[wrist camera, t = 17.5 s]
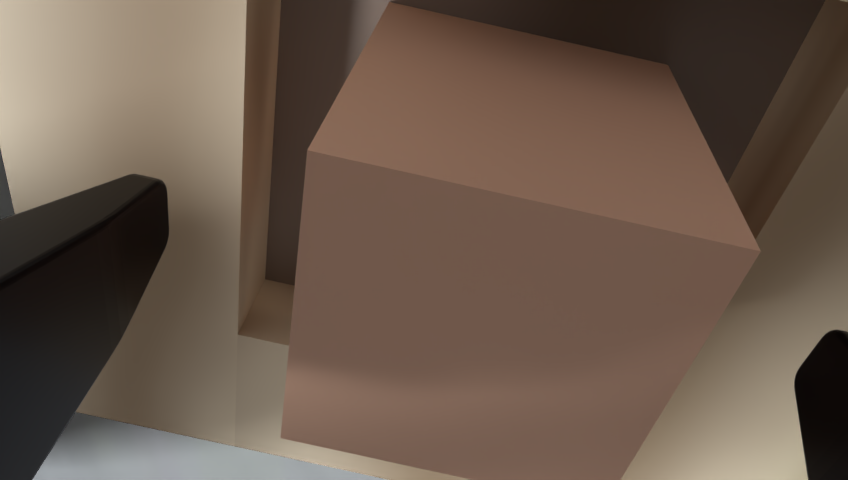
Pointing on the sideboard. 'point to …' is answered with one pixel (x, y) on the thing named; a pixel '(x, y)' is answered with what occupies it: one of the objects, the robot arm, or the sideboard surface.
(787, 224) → the puzzle board
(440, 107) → the block
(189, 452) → the sideboard surface
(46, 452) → the robot arm
